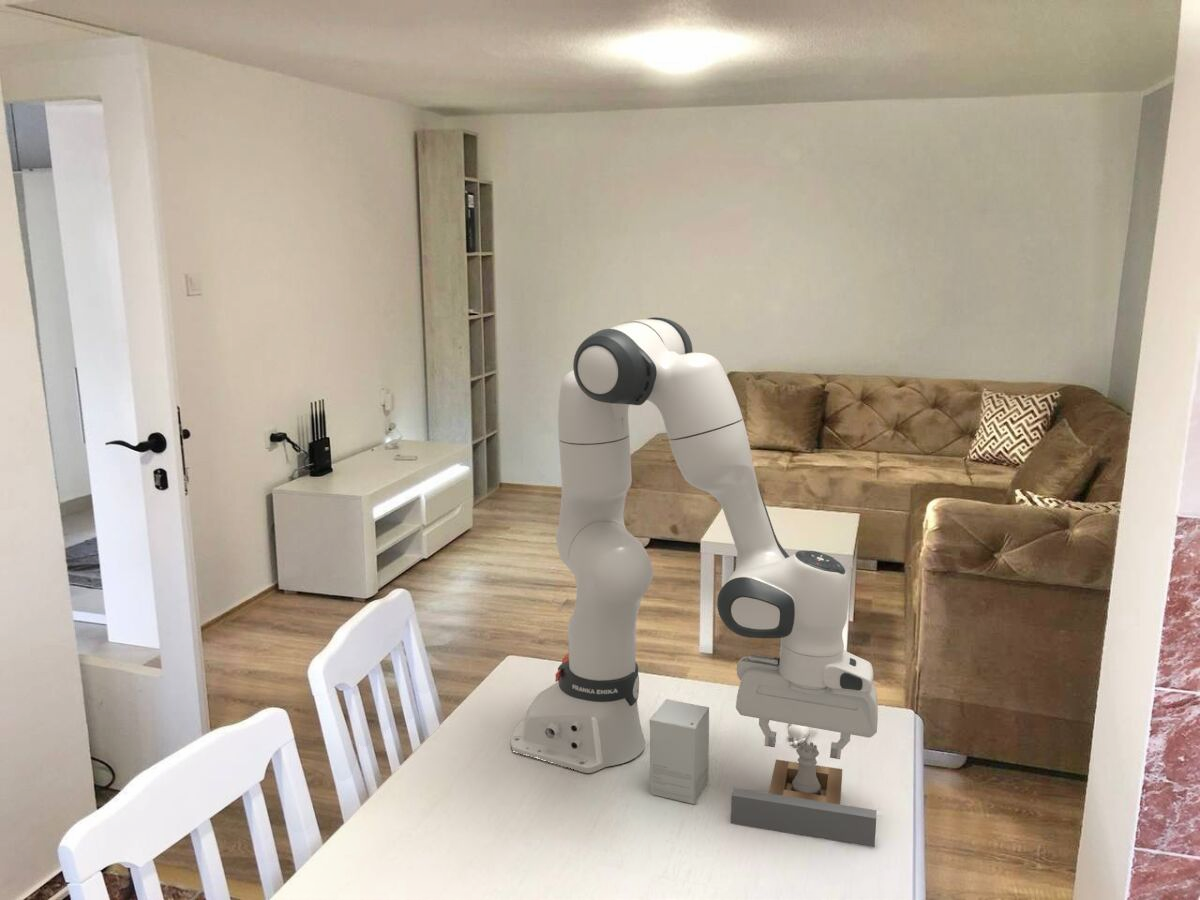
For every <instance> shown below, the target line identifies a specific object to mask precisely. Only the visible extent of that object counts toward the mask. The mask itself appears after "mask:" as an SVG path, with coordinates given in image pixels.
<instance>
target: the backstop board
mask: <svg viewBox="0 0 1200 900" xmlns="http://www.w3.org/2000/svg"><path fill="white" fill-rule="evenodd" d="M730 799H731V801H730V824H732V825H733V824H734V825H738V826H744V827H749V828H750V827H751V828H756V829H760V830H761V829H762V830H769V831H775V832H780V833H786V834H791V835H797V836H798V835H799V836H804V837H811V838H815V839H821V840H822V839H823V840H829V841H834V842H839V843H846V844H854V845H857V846H864V847H870V848H876V847H875V846H876V831H877V830H876V829H877V813H878V812H877V809H873V808H871V809H870V808H867V807H866V808H865V807H858V806H852V805H845V804H841V803H840V804H834V803H827V802H821V801H814V800H808V799H802V798H795V797H789V796H783V795H776V794H770V793H769V792H762V791H755V790H749V789H743V788H737V787H733V789H732V793H731V798H730Z"/></svg>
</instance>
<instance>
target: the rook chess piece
mask: <svg viewBox="0 0 1200 900" xmlns="http://www.w3.org/2000/svg"><path fill="white" fill-rule="evenodd" d="M817 748H818V747H817V744H815V743H814V742H812V741H810V743H809V744H808V741H804V742H801V743H799V745H798V747H797V748H796V753H797V755H798V758H797V763H799V768H798V773H797V775H796V776H795V779H794V780H793V781H792V787H791V791H796V792H803V793H809V794H816V795H821V791H820V790H821V786H820V783H819V782H818V779H817V777H816V770H815V765H817V764H818V761H817V759H816V758H817V757H818V756H819V754H820V752H819V750H818V749H817Z"/></svg>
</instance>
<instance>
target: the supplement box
mask: <svg viewBox="0 0 1200 900" xmlns="http://www.w3.org/2000/svg"><path fill="white" fill-rule="evenodd" d="M649 746H650V747H649V769H650V770H649V773H650V774H649V777H650V778H649V780H650V783H649V786H650V794H651V795H653V796H658V797H661V798H667V799H670V800H675V801H678V802H683V803H687V804H692V805H695V804H696V802H697V800H698V799H699V797H700V796H701V794H702V792H703V790H704V789H705V787H706V785H707V784H708V782H709V779H710V778H709V777H710V776H709V772H710V770H709V769H710V768H709V767H710V766H709V764H710V763H709V762H710V761H709V759H710V758H709V757H710V755H709V754H710V707H709V706H705V705H704V706H703V705H699V704H693V703H689V702H683V701H677V700H673V699H668V698H666V699H665V700H664V701H663V702H662V704H661V705H660V707H658V709H657V710H656V711H655V713H653V715H652V716H651V717H650V718H649Z"/></svg>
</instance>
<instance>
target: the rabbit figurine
mask: <svg viewBox="0 0 1200 900" xmlns="http://www.w3.org/2000/svg"><path fill="white" fill-rule="evenodd" d="M810 731H811V730H810V727H806V726H800V725H794V724H790V726H789V727H788V730H787V734H788V736H789V737H790V738H791V739H793V740H792V741H790V742H789V746H793V745H794V746H798V744H800V743H801V742H802V743H804V742H806V739H807V738H809V735H810Z"/></svg>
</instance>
